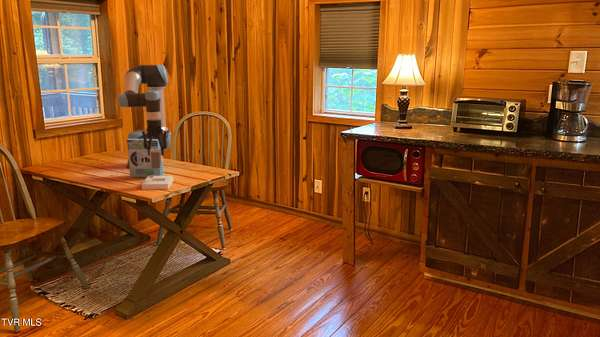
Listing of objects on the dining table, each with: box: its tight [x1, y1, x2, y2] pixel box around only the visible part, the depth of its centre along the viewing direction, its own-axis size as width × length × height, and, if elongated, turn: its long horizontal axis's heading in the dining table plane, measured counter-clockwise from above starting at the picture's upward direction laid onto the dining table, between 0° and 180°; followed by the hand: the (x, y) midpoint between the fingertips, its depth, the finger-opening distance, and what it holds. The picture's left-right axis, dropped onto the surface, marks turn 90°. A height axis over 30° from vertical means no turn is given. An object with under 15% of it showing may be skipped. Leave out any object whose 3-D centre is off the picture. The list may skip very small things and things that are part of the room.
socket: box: [141, 175, 174, 191], centre depth 274 cm, size 18×14×4 cm
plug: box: [151, 149, 162, 168], centre depth 271 cm, size 4×4×10 cm
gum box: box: [126, 138, 165, 179], centre depth 289 cm, size 20×5×23 cm, turn 81°
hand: (156, 161), depth 271 cm, fingers closed on plug, 4 cm apart
